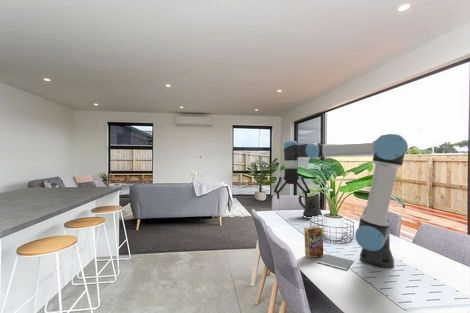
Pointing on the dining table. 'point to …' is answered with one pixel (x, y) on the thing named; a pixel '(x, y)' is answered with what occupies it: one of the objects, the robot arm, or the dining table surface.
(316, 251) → the candy box
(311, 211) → the beer stein
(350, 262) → the mat
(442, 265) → the dining table surface
